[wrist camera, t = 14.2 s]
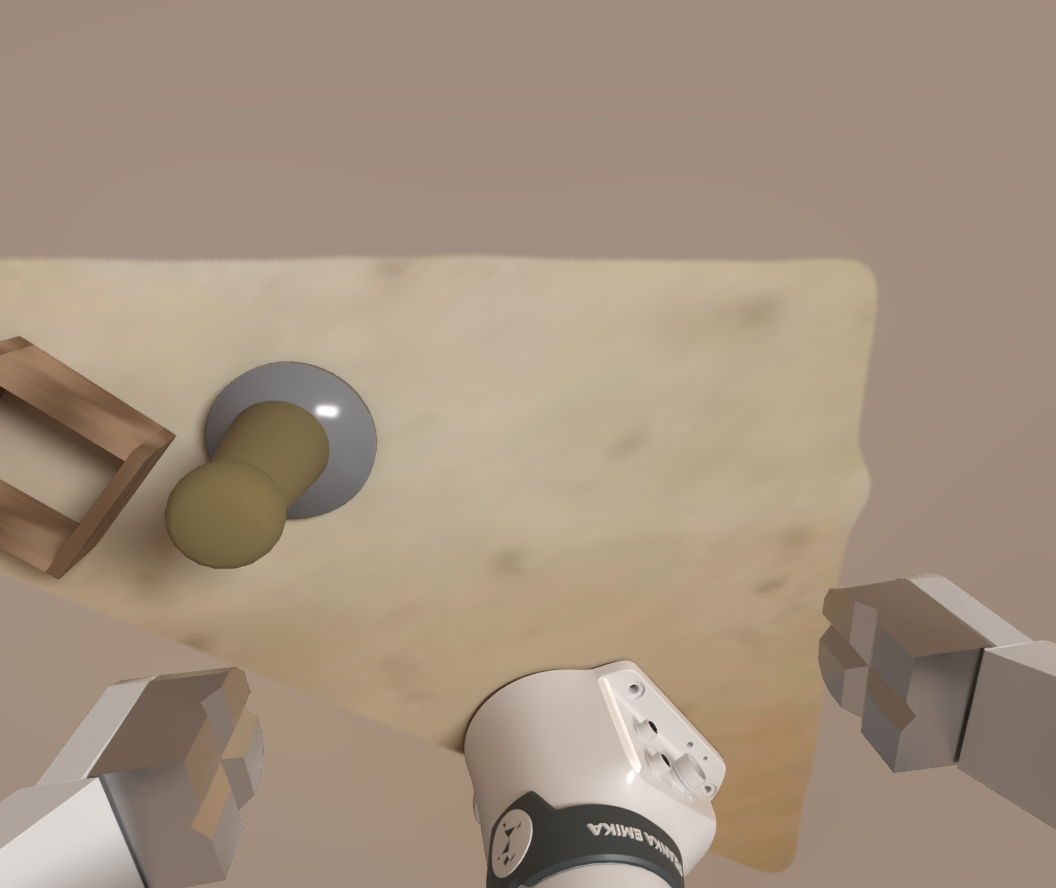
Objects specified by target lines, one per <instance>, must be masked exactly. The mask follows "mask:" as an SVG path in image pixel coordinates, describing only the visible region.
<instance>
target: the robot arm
mask: <svg viewBox="0 0 1056 888" xmlns="http://www.w3.org/2000/svg"><path fill="white" fill-rule="evenodd" d="M822 614H823V615H824V616H825V618H826V619H827V620H828V621H829V623H830V624H831V626H830V627H829V628H828V629H827V631H826V632H825V633H824V634H823V636H822V637H821V638H820V639H819V654H818V661H819V665H820V669H821V673H822V677H823V680H824V682H825V684H826V686H827V688H828V690H829V692H830V694H831V695H832V696H833V697H834V699H835V700H836V701H837V703H838V704H839V705H840V706H841V707H842V708H844V709H846V710H848V711H849V712H851V713H853V714H855V715H857V716H859V717H861V718H862V720H861V721H862V722H861V733H862V734H863V735H864V737H865V738H866V739H867V740H868V742H869V743H870V744H871V745H872V747H873V748H874V749H875V750H876V752H878V754H879V755H880V756H881V758H882V759H883V760H884V761H885V763H886V764H887V765H888V766H889V767H890V769H891V770H892V771H893V772H894V773H896V772H904V771H912V770H920V769H927V768H935V767H943V766H951V765H958V767H957V768H958V769H960V770H961V771H963V772H965V773H966V774H968V775H969V776H971V777H972V778H974V779H975V780H977V781H979V782H980V783H982V784H983V785H985V786H987V787H989V788H990V789H992V790H993V791H995V792H996V793H998V794H999V795H1001V796H1003V797H1004V798H1006V799H1008V800H1009V801H1011V802H1012V803H1014V804H1016V805H1017V806H1019V807H1020V808H1022V809H1024V810H1025V811H1027V812H1028V813H1030V814H1032V815H1033V816H1035V817H1036V818H1038V819H1040V820H1041V821H1043V822H1044V823H1046V824H1048V825H1049V826H1051V827H1052V828H1054V829H1056V644H1054V643H1052V642H1049V641H1046V640H1043V641H1036V642H1033V641H1032V640H1031V639H1029V638H1028V637H1027V636H1025V635H1024V634H1022V633H1021V632H1020V631H1018V630H1017V629H1015V628H1014V627H1013V626H1011V625H1010V624H1008V623H1007V622H1006V621H1004V620H1003V619H1002V618H1000V617H999V616H997V615H996V614H995V613H993V612H992V611H990V610H989V609H988V608H986V607H985V606H984V605H982V604H981V603H979V602H978V601H976V600H975V599H974V598H972V597H971V596H969V595H968V594H967V593H965V592H964V591H963V590H961V589H960V588H959V587H957V586H956V585H954V584H953V583H952V582H950V581H949V580H947V579H946V578H944V577H943V576H940V575H936V574H933V573H927V574H920V575H914V576H908V577H902V578H897V579H896V580H891V581H883V582H876V583H868V584H861V585H854V586H846V587H839V588H832V589H829V591H828V593H827V595H826V596H825V598H824V605H823V613H822ZM631 685H635V686H633V687H630V686H631ZM249 694H250V689H249V685H248V682H247V679H246V676H245V674H244V671H242V670H241V669H239V668H237V667H231V668H223V669H213V670H205V671H196V672H186V673H177V674H168V675H160V676H158V677H154V676H153V677H145V678H137V679H129V680H121V681H119V682H116V683H114V684H113V685H111V686H109V687H108V688H107V689H106V691H105V692H104V693H103V695H102V696H101V697H100V699H99V700H98V701H97V703H96V704H95V705H94V707H93V708H92V709H91V711H90V712H89V713H88V715H87V716H86V717H85V719H84V720H83V722H82V723H81V724H80V725H79V727H78V728H77V729H76V731H75V732H74V734H73V735H72V736H71V738H70V739H69V740H68V742H67V743H66V744H65V746H64V747H63V748H62V750H61V751H60V752H59V754H58V755H57V756H56V758H55V759H54V761H53V762H52V763H51V764H50V766H49V767H48V768H47V770H46V771H45V773H44V774H43V775H42V776H41V778H40V779H39V781H38V782H37V783H36V785H35V786H32V787H26V788H20V789H18V790H17V791H15V792H14V793H12V794H11V795H10V796H8V797H7V798H5V799H4V800H2V801H1V802H0V888H185V887H190V886H196V885H201V884H207V883H211V882H216V881H222V880H225V879H226V876H227V873H228V870H229V867H230V865H231V862H232V859H233V856H234V853H235V850H236V847H237V844H238V841H239V839H240V836H241V833H242V830H243V824H242V821H241V817H240V814H239V810H240V809H241V808H242V807H243V806H244V805H245V803H247V802H248V801H249V800H250V799H251V798H252V797H253V796H254V795H255V792H256V789H257V786H258V783H259V780H260V777H261V772H262V763H263V753H264V747H263V736H262V730H261V726H260V723H259V719H258V717H256V716H255V715H254V714H252V713H251V712H249V711H248V710H247V709H245V708H244V706H245V703H246V701H247V699H248V696H249ZM464 751H465V760H466V764H467V767H468V770H469V773H470V776H471V780H472V783H473V787H474V797H473V809H474V815H475V819H476V821H477V822H478V823H479V824H480V825H481V831H482V837H483V843H484V849H485V856H486V861H487V868H488V869H487V879H486V886H487V888H684V877H685V876H686V875H687V874H688V873H689V872H690V871H691V870H692V869H693V867H694V866H695V865H696V864H697V863H698V862H699V861H700V860H701V858H702V857H703V856H704V855H705V853H706V852H707V850H708V849H709V847H710V845H711V843H712V841H713V838H714V835H715V832H716V817H715V813H714V810H713V807H712V805H711V802H710V801H711V800H712V799H713V797H714V796H715V794H716V793H717V791H718V789H719V787H720V785H721V783H722V781H723V778H724V775H725V772H726V767H725V764H724V761H723V759H722V757H721V756H720V754H719V753H718V752H717V751H716V750H715V749H714V748H713V747H712V746H711V745H710V744H709V742H708V741H707V740H706V739H705V738H704V737H703V736H702V735H701V734H700V733H699V732H698V731H697V730H696V728H695V727H694V726H693V725H692V724H691V723H690V722H689V721H688V720H687V719H686V718H685V717H684V716H683V715H682V713H681V712H680V711H679V710H678V709H677V708H676V707H675V706H674V705H673V704H672V703H671V702H670V701H669V699H668V698H667V697H666V696H665V695H664V694H663V693H662V692H661V691H660V690H659V689H658V688H657V687H656V685H655V684H654V683H653V682H652V681H651V680H650V679H649V678H648V677H647V676H646V675H645V674H644V673H643V672H642V670H641V669H640V668H639V667H638V666H637V665H636V664H634V663H633V662H630V661H618V662H614V663H610V664H607V665H604V666H601V667H598V668H595V669H589V670H552V671H545V672H540V673H536V674H533V675H529V676H527V677H524V678H521V679H519V680H517V681H515V682H513V683H511V684H509V685H507V686H505V687H504V688H502V689H501V690H499V691H498V692H497V693H495V694H494V695H493V696H492V697H490V698H489V699H488V700H487V701H486V702H485V703H484V704H483V705H482V707H481V708H480V709H479V710H478V712H477V713H476V715H475V716H474V718H473V720H472V721H471V723H470V726H469V728H468V731H467V734H466V738H465V746H464Z"/></svg>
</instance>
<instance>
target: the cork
mask: <svg viewBox="0 0 1056 888" xmlns="http://www.w3.org/2000/svg"><path fill="white" fill-rule="evenodd" d="M329 456H330V454H329V440H328V438H327V435H326V433H325V430H324V428H323V426H322V425H321V424H320V423H319V422H318V420H317V419H316V418H315V417H314V415H312V414H311V413H309V412H308V411H306V410H305V409H303V408H302V407H300V406H298V405H295V404H292V403H289V402H286V401H269V400H267V401H264V402H260V403H256V404H253V405H251V406H249V407H248V408H246V409H245V410H243V411H242V412H240V413H239V414H238V416H237V417H236V419H235V420H234V421H233V423H232V424H231V426H230V428H229V429H228V431H227V433H226V435H225V436H224V438H223V440H222V442H221V443H220V445H219V447H218V449H217V450H216V452H215V454H214V456H213V457H212V459H211V461H210V463H209V464H205V465H202V466H199V467H197V468H196V469H194V470H193V471H191V472H190V473H188V474H187V475H185V476H184V477H183V478H182V479H181V480H180V481H179V482H178V483H177V485H176V486H175V488H174V489H173V490H172V492H171V493H170V496H169V498H168V502H167V506H166V510H165V521H166V528H167V531H168V533H169V535H170V537H171V539H172V541H173V543H174V545H175V547H177V548H178V549H179V550H180V551H181V552H182V553H183V554H184V555H185V556H186V557H187V558H189V559H191V560H192V561H194V562H196V563H198V564H200V565H203V566H207V567H211V568H215V569H232V568H239V567H242V566H246V565H249V564H252V563H254V562H255V561H257V560H258V559H260V558H261V557H263V556H264V555H266V554H267V553H268V552H270V550H271V549H272V548H273V547H274V545H275V544H276V543H277V541H278V540H279V539H280V537H281V535H282V532H283V529H284V525H285V522H286V511H287V510H288V509H289V508H290V507H291V506H292V505H293V504H294V503H295V502H296V501H297V499H298V498H299V497H300V496H301V495H302V494H303V493H304V492H305V491H306V490H307V489H308V488H309V487H310V486H311V485H312V484H313V483H314V482H315V481H316V480H317V479H318V478H319V477H320V475H321V474H322V473H323V471H324V470H325V469H326V465H327V462H328V459H329Z"/></svg>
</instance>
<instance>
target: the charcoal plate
mask: <svg viewBox="0 0 1056 888" xmlns="http://www.w3.org/2000/svg"><path fill="white" fill-rule="evenodd" d="M267 400H269V401H286V402H289V403H292V404H295V405H298V406H300V407H302V408H303V409H305V410H306V411H308V412H309V413H311V414H312V415H314V417H315V418H316V419H317V420H318V422H319V423H320V424H321V425H322V426H323V428H324V430H325V433H326V435H327V438H328V440H329V454H330V456H329V459H328V462H327V465H326V469H325V470H324V471H323V473H322V474H321V475H320V477H319V478H318V479H317V480H316V481H315V482H314V483H313V484H312V485H311V486H310V487H309V488H308V489H307V490H306V491H305V492H304V493H303V494H302V495H301V496H300V497H299V498H298V499H297V501H296V502H295V503H294V504H293V505H292V506H291V507H290V508H289V509H288V510H287V511H286V517H288V518H307V517H313V516H319V515H322V514H325V513H328V512H331V511H333V510H335V509H337V508H339V507H341V506H342V505H344V504H346V503H347V502H348V501H349V500H351V499H352V498H353V497H354V496H355V495H356V494H357V493H358V492H359V491H360V490H361V488H362V487H363V485H364V484H365V482H366V481H367V479H368V477H369V475H370V472H371V469H372V466H373V463H374V460H375V455H376V450H377V437H376V429H375V425H374V421H373V419H372V416H371V414H370V411H369V410H368V408H367V406H366V404H365V402H364V401H363V400H362V398H361V397H360V396H359V394H358V393H357V392H356V391H355V390H354V389H353V388H352V387H351V386H350V385H349V384H347V383H346V382H345V381H344V380H343V379H341V378H339V377H338V376H336V375H335V374H333V373H331V372H329V371H327V370H325V369H323V368H320V367H317V366H314V365H310V364H306V363H301V362H275V363H269V364H265V365H262V366H258V367H256V368H254V369H251V370H249V371H247V372H246V373H244V374H242V375H241V376H239V377H238V378H237V379H235V380H234V381H233V382H231V383H230V384H229V385H228V386H227V387H226V388H225V389H224V390H223V391H222V392H221V393H220V395H219V396H218V397H217V399H216V401H215V402H214V404H213V406H212V408H211V410H210V413H209V416H208V420H207V425H206V445H207V450H208V455H209V458H210V461H211V459H212V457H213V456H214V454H215V452H216V450H217V449H218V447H219V445H220V443H221V442H222V440H223V438H224V436H225V435H226V433H227V431H228V429H229V428H230V426H231V424H232V423H233V421H234V420H235V419H236V417H237V416H238V414H239V413H240V412H242V411H243V410H245V409H246V408H248V407H249V406H251V405H253V404H256V403H260V402H264V401H267Z"/></svg>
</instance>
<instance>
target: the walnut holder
mask: <svg viewBox="0 0 1056 888" xmlns="http://www.w3.org/2000/svg"><path fill="white" fill-rule="evenodd" d="M5 389H6V390H8V391H9V392H11V393H13V394H14V395H16V396H18V397H19V398H21V399H23V400H24V401H26V402H28V403H29V404H31V405H33V406H34V407H36V408H37V409H39V410H41V411H42V412H44V413H46V414H47V415H49V416H51V417H52V418H54V419H56V420H57V421H59V422H61V423H62V424H64V425H66V426H67V427H69V428H70V429H72V430H74V431H75V432H77V433H79V434H80V435H82V436H84V437H85V438H87V439H89V440H90V441H92V442H94V443H95V444H97V445H99V446H100V447H102V448H104V449H105V450H107V451H108V452H110V453H112V454H113V455H115V456H117V457H118V458H120V459H122V460H123V461H125V462H124V463H123V465H122V466H121V467H120V469H119V470H118V472H117V473H116V474H115V476H114V477H113V479H112V480H111V481H110V483H109V484H108V485H107V487H106V488H105V490H104V491H103V492H102V494H101V495H100V497H99V498H98V499H97V501H96V502H95V504H94V505H93V506H92V508H91V509H90V511H89V512H88V513H87V515H86V516H85V517H84V519H83V520H82V522H81V523H80V524H79V523H77V522H75V521H73V520H71V519H70V518H68V517H66V516H64V515H62V514H61V513H59V512H57V511H55V510H54V509H52V508H50V507H48V506H46V505H45V504H43V503H41V502H39V501H37V500H36V499H34V498H32V497H30V496H29V495H27V494H25V493H23V492H21V491H20V490H18V489H16V488H14V487H12V486H11V485H9V484H7V483H5V482H4V481H2V480H0V549H2V550H4V551H6V552H8V553H10V554H12V555H14V556H15V557H17V558H19V559H21V560H23V561H25V562H27V563H29V564H31V565H33V566H34V567H36V568H38V569H40V570H42V571H44V572H46V573H48V574H50V575H52V576H53V577H55V578H57V579H60V578H61V577H62V576H63V575H64V574H65V573H66V572H67V571H68V570H69V569H71V568H72V567H73V566H74V565H75V564H76V563H77V562H78V561H79V560H80V559H82V558H83V557H84V556H85V555H86V554H87V553H88V552H89V551H90V550H91V549H92V548H94V547H95V546H96V545H97V543H98V542H99V540H100V539H101V538H102V536H103V535H104V534H105V532H106V531H107V529H108V528H109V527H110V525H111V524H112V523H113V521H114V520H115V519H116V517H117V516H118V514H119V513H120V512H121V510H122V509H123V508H124V506H125V505H126V504H127V502H128V501H129V499H130V498H131V497H132V495H133V494H134V493H135V491H136V490H137V489H138V487H139V486H140V484H141V483H142V482H143V480H144V479H145V478H146V476H147V475H148V473H149V472H150V471H151V469H152V468H153V467H154V465H155V464H156V463H157V461H158V460H159V458H160V457H161V456H162V454H163V453H164V452H165V450H166V449H167V448H168V446H169V445H170V443H171V442H172V441H173V439H174V438H175V437H176V435H175V434H173V433H171V432H170V431H168V430H167V429H165V428H164V427H162V426H160V425H159V424H157V423H156V422H154V421H153V420H151V419H149V418H148V417H146V416H145V415H143V414H142V413H140V412H138V411H137V410H135V409H134V408H132V407H131V406H129V405H127V404H126V403H124V402H123V401H121V400H120V399H118V398H116V397H115V396H113V395H112V394H110V393H109V392H107V391H105V390H104V389H102V388H101V387H99V386H98V385H96V384H94V383H93V382H91V381H90V380H88V379H87V378H85V377H83V376H82V375H80V374H79V373H77V372H76V371H74V370H72V369H71V368H69V367H68V366H66V365H65V364H63V363H61V362H60V361H58V360H57V359H55V358H54V357H52V356H50V355H49V354H47V353H46V352H44V351H42V350H41V349H39V348H38V347H36V346H35V345H33V344H31V343H30V342H28V341H27V340H25V339H24V338H22V337H20V336H19V337H15V338H11V339H8V340H4V341H0V397H1V395H2V394H3V392H4V391H5Z"/></svg>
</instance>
